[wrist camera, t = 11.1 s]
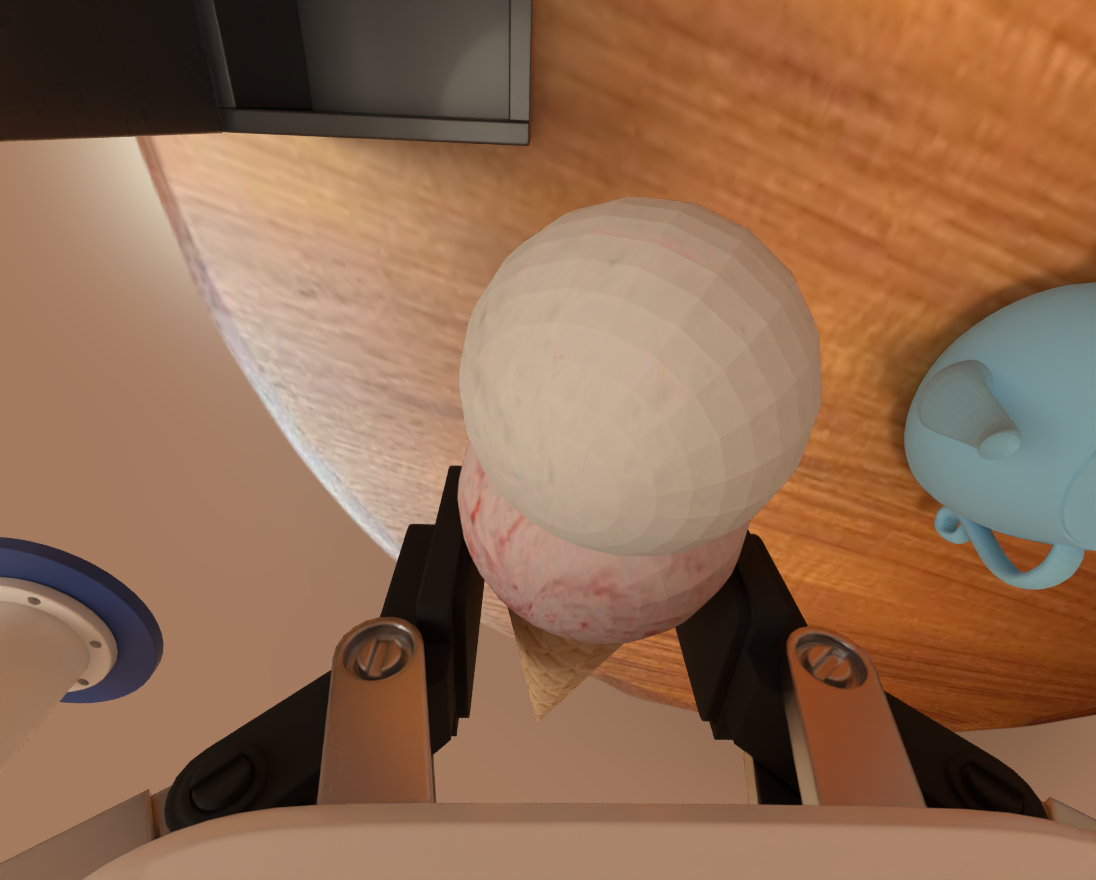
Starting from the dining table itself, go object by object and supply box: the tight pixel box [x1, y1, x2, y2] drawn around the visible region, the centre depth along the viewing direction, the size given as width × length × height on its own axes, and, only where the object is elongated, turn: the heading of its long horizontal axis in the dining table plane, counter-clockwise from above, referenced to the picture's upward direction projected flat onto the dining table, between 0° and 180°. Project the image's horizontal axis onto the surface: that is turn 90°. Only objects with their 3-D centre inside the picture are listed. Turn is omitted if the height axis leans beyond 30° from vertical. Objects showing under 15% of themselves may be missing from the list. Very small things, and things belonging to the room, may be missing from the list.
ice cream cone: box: [458, 196, 822, 722], centre depth 11 cm, size 5×5×15 cm
